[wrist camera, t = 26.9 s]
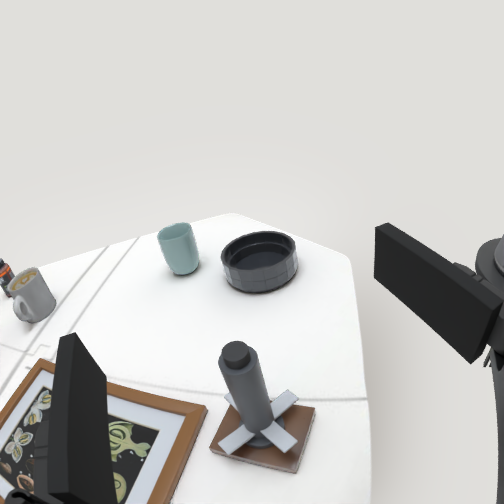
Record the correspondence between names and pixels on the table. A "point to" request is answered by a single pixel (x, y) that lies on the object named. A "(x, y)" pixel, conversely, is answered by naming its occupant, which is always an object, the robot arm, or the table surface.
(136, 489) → the wall art
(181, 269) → the cup
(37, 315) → the coffee mug
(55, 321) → the table surface
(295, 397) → the blade
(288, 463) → the board
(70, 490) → the robot arm
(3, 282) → the supplement bottle
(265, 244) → the processor bowl
